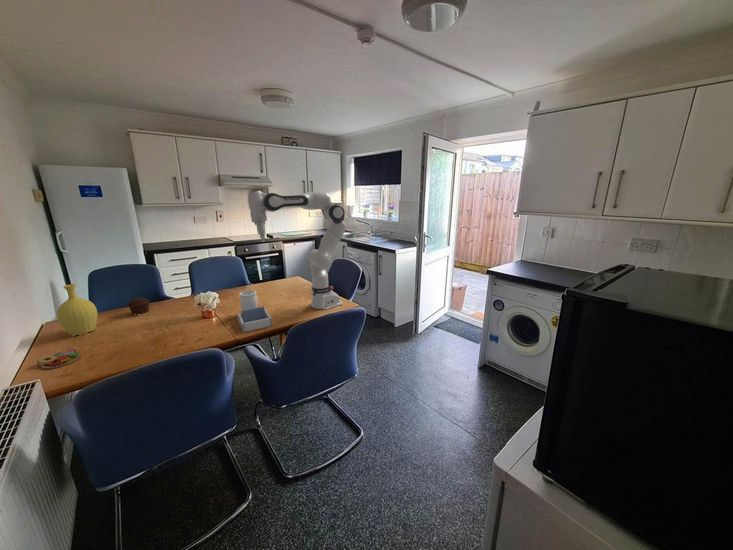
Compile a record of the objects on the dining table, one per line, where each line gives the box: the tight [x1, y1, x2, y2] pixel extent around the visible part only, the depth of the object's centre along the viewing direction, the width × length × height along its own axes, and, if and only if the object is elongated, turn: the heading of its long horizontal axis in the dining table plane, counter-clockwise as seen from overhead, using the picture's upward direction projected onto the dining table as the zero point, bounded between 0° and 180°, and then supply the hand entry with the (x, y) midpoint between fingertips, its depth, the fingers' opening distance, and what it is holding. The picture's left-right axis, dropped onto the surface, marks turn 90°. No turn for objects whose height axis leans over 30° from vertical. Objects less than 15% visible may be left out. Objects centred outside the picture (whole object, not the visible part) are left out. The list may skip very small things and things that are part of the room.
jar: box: [238, 289, 258, 310], centre depth 190 cm, size 11×10×15 cm
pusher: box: [240, 305, 265, 323], centre depth 180 cm, size 13×2×8 cm, turn 121°
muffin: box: [127, 297, 151, 315], centre depth 192 cm, size 12×11×10 cm
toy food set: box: [36, 349, 80, 370], centre depth 138 cm, size 13×13×3 cm
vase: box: [56, 283, 98, 336], centre depth 163 cm, size 16×16×28 cm
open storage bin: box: [237, 307, 273, 333], centre depth 178 cm, size 16×19×5 cm
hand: (263, 241), depth 179 cm, fingers open, 8 cm apart
